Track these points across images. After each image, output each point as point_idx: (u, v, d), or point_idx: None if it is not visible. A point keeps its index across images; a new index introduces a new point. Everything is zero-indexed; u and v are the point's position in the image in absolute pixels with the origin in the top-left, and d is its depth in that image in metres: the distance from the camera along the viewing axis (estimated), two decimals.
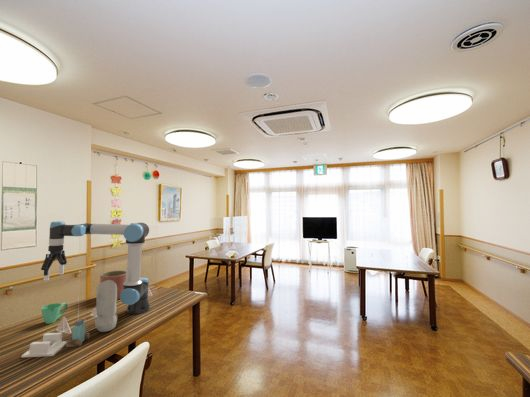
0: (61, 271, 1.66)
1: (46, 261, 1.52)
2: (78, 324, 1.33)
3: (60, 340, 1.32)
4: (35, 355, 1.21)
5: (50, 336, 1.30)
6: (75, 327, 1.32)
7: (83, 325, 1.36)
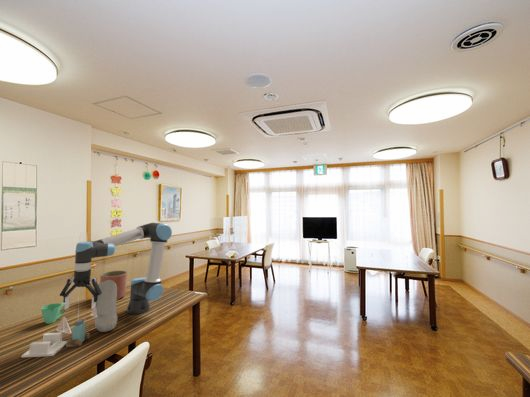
0: None
1: None
2: (78, 324, 1.33)
3: (60, 340, 1.32)
4: (35, 355, 1.21)
5: (50, 336, 1.30)
6: (75, 327, 1.32)
7: (83, 325, 1.36)
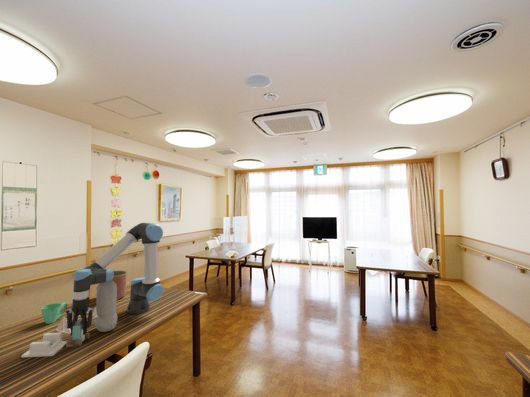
0: None
1: None
2: (78, 324, 1.33)
3: (60, 340, 1.32)
4: (35, 355, 1.21)
5: (50, 336, 1.30)
6: (75, 327, 1.32)
7: None
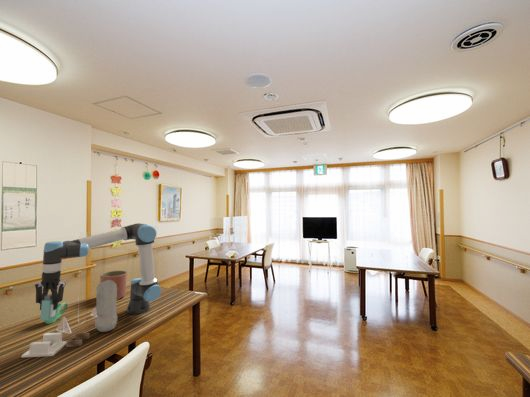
0: None
1: None
2: (48, 298, 1.26)
3: (60, 340, 1.32)
4: (35, 355, 1.21)
5: (50, 336, 1.30)
6: (44, 301, 1.25)
7: None
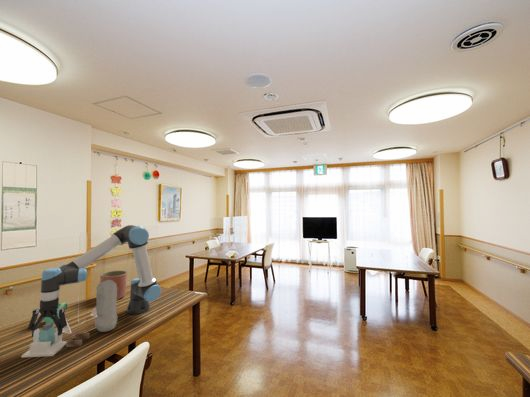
0: None
1: None
2: (46, 328, 1.26)
3: (60, 340, 1.32)
4: (35, 355, 1.21)
5: None
6: (42, 331, 1.25)
7: (52, 329, 1.28)
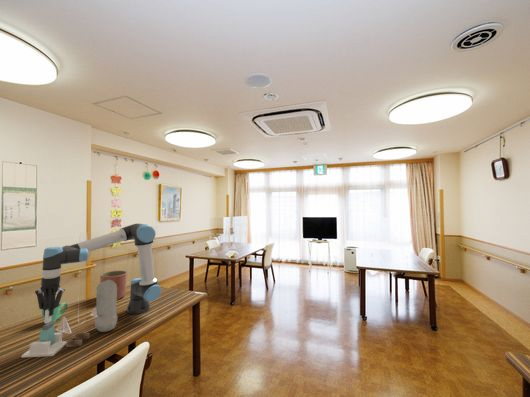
0: None
1: None
2: (46, 328, 1.26)
3: (60, 340, 1.32)
4: (35, 355, 1.21)
5: None
6: (42, 331, 1.25)
7: (52, 329, 1.28)
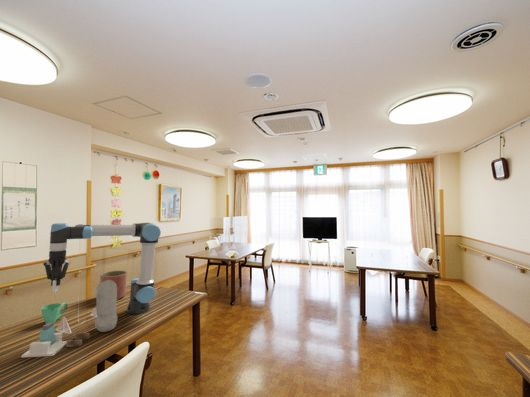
0: None
1: None
2: (46, 328, 1.26)
3: (60, 340, 1.32)
4: (35, 355, 1.21)
5: None
6: (42, 331, 1.25)
7: (52, 329, 1.28)
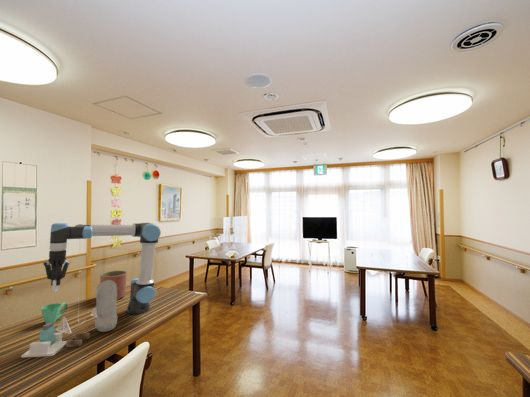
0: None
1: None
2: (46, 328, 1.26)
3: (60, 340, 1.32)
4: (35, 355, 1.21)
5: None
6: (42, 331, 1.25)
7: (52, 329, 1.28)
